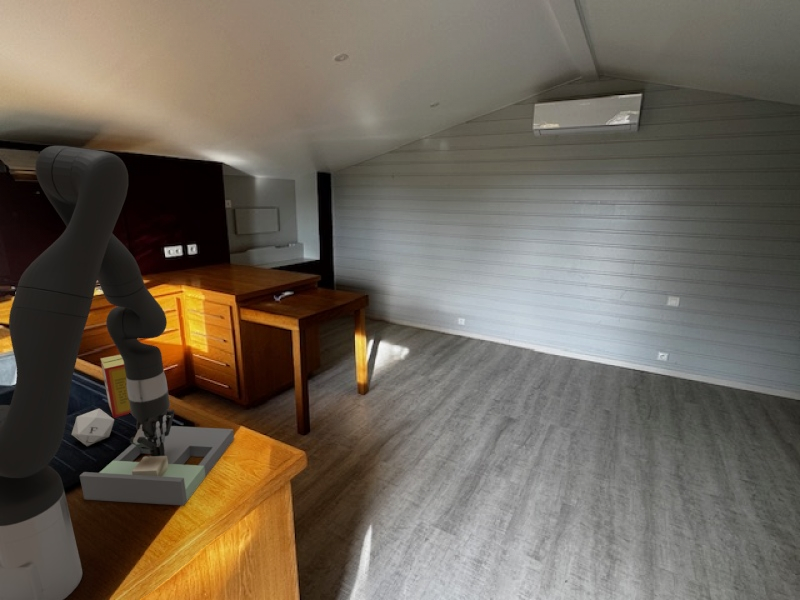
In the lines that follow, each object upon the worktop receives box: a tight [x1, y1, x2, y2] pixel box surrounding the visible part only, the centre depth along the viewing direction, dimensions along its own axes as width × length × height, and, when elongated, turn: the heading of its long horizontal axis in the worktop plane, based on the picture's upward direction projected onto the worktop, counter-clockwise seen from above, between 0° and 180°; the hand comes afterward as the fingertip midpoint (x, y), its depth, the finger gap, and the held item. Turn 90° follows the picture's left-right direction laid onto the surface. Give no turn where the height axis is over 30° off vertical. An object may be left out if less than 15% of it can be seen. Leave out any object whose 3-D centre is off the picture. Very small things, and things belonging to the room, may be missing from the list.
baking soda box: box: [99, 353, 131, 419], centre depth 121 cm, size 10×6×16 cm
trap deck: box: [79, 425, 235, 506], centre depth 97 cm, size 24×22×6 cm
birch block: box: [132, 455, 168, 477], centre depth 90 cm, size 5×5×3 cm
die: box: [71, 408, 115, 447], centre depth 106 cm, size 8×9×10 cm
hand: (158, 458), depth 94 cm, fingers closed
